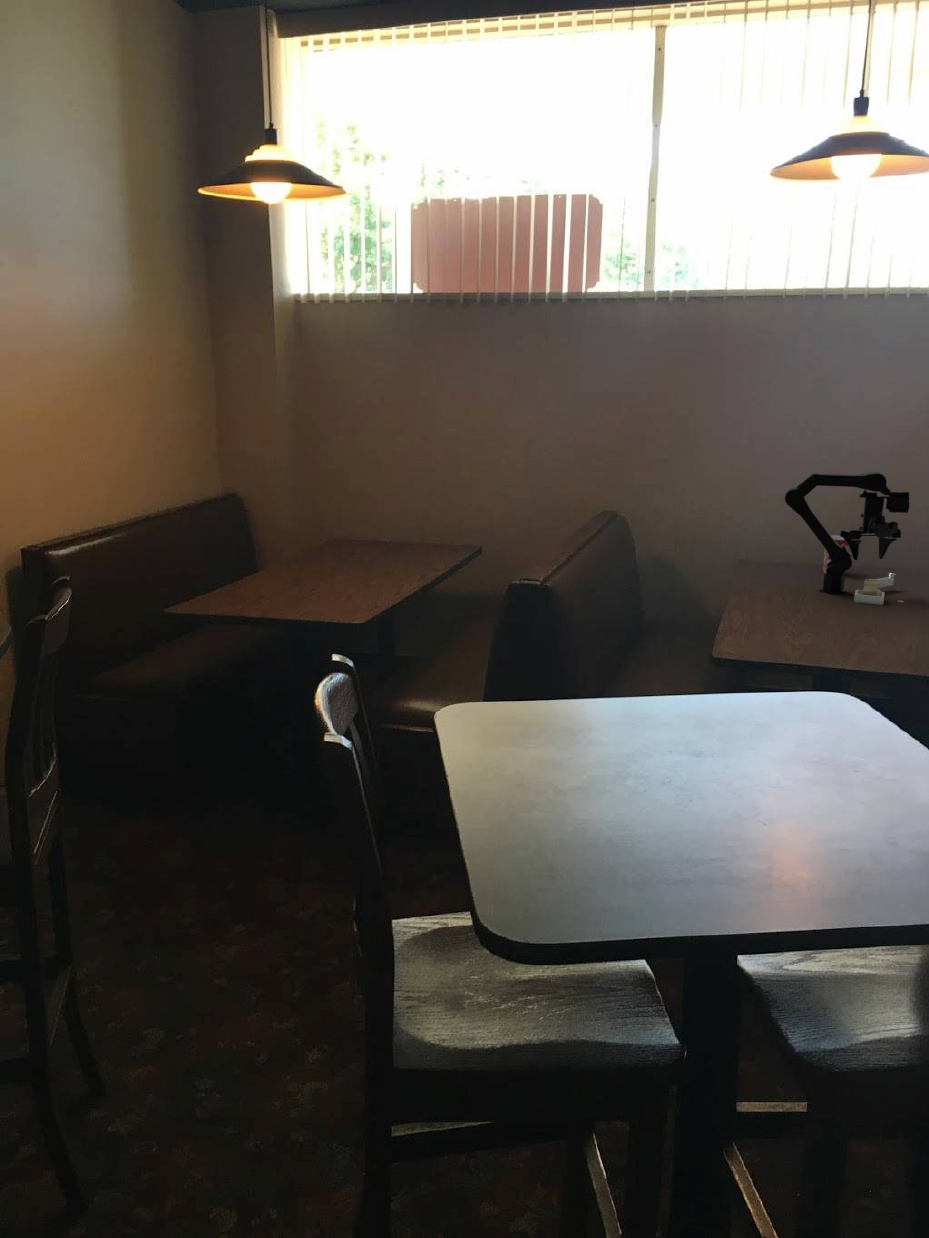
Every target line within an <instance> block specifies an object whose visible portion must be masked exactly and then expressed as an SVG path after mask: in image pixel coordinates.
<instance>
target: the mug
mask: <svg viewBox="0 0 929 1238" xmlns="http://www.w3.org/2000/svg"><path fill="white" fill-rule="evenodd" d="M831 537H832V538H833V539H834V541H835V542H836V543H837V544H839V545H840V546H841V545H842V544H843V543H844V545H845V546H846V548H847V550H848V551H849V552H850V550H849V549H850V547H849V545H848V543H847V541H846V540H844V538H843V537H840V535H831ZM823 555H824V556H823V569H822V570H823V571H822V572H823V574H825V573H826V572H827V571H826V564H828V563H829V562H830V561H831V559H830V557H829V555H828V552H827V550H826V549H825V548H824V554H823ZM845 572H846V571H845ZM845 572H844V574H845Z"/></svg>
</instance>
